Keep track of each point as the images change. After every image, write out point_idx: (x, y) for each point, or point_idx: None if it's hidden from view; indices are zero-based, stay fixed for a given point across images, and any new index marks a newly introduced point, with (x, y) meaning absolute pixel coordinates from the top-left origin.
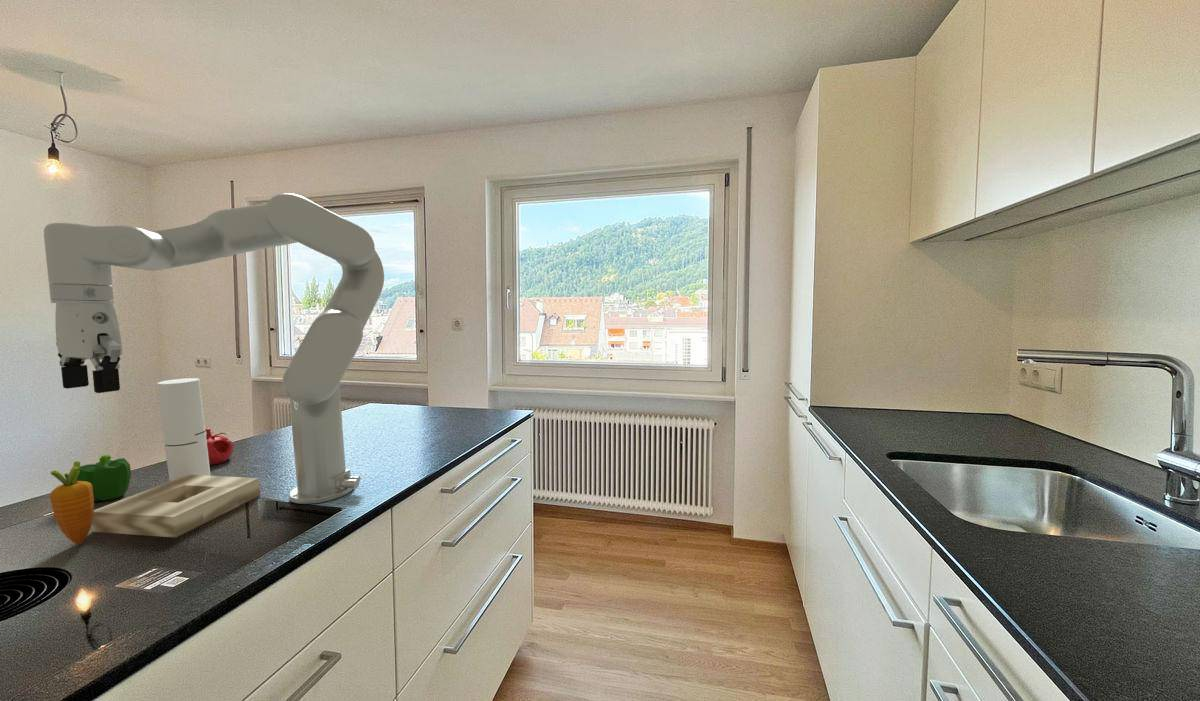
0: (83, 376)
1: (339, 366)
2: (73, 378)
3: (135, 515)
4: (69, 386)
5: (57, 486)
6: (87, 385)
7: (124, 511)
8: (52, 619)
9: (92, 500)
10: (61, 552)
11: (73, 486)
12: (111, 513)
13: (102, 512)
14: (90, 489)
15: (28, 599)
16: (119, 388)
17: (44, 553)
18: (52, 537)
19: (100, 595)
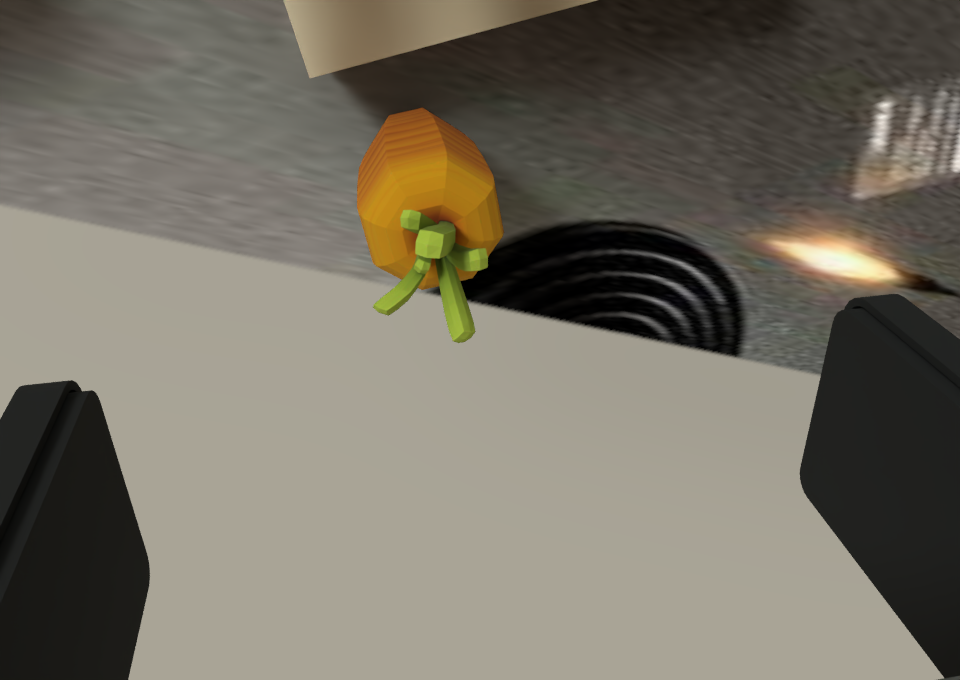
0: (65, 531)
1: None
2: (98, 612)
3: (567, 6)
4: (144, 561)
5: (392, 266)
6: (78, 387)
7: (474, 9)
8: None
9: (455, 137)
10: None
11: (485, 239)
12: (434, 44)
13: (380, 58)
14: (476, 164)
15: (686, 317)
16: (905, 302)
17: None
18: (215, 144)
19: (863, 235)
